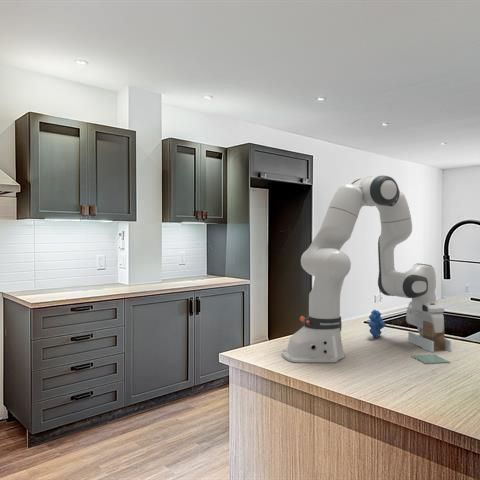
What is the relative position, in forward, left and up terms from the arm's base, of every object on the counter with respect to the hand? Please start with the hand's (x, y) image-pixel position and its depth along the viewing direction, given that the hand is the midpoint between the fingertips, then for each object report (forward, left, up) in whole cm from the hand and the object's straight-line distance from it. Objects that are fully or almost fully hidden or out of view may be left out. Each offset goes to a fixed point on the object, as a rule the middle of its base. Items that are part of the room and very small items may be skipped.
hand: (423, 339), depth 172 cm
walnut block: (0, -6, -2) cm, 7 cm away
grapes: (-13, +13, -2) cm, 18 cm away
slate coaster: (-10, -19, -2) cm, 22 cm away
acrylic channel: (0, -3, -2) cm, 4 cm away
